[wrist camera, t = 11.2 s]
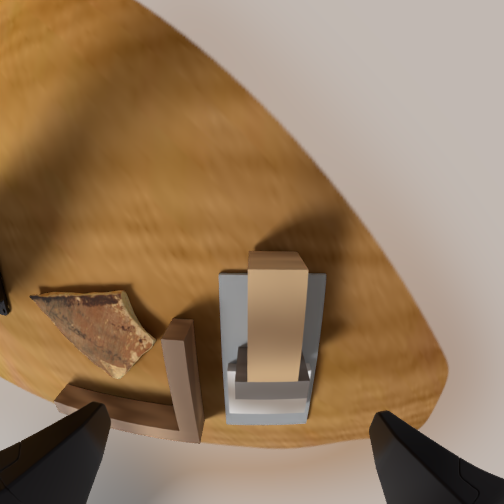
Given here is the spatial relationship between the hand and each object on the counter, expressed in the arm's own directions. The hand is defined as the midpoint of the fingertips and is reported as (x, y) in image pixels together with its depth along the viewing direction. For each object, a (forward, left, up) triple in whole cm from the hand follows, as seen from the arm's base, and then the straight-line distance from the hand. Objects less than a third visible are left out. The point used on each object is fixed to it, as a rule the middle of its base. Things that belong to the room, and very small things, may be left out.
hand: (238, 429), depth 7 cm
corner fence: (-11, -7, -12) cm, 18 cm away
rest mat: (+2, -5, -12) cm, 13 cm away
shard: (-13, -4, -12) cm, 18 cm away
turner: (+2, -4, -11) cm, 12 cm away
